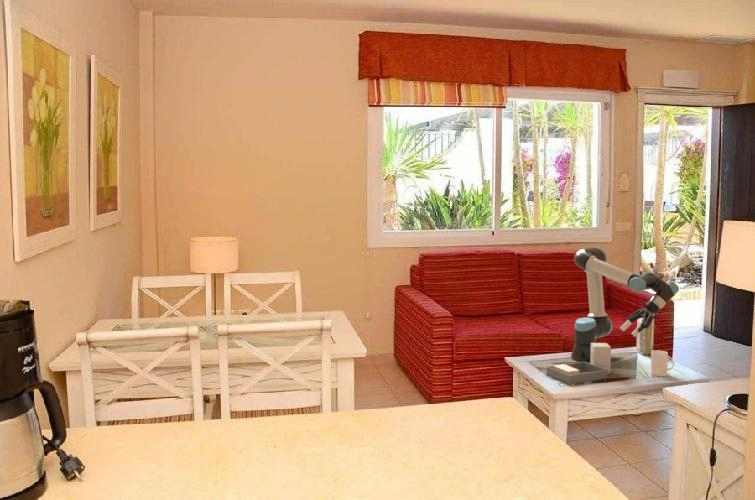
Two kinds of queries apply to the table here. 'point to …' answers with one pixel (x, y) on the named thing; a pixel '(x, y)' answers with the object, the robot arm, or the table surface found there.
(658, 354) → the mug
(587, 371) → the tray
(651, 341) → the juice carton
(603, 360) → the supplement box
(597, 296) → the robot arm
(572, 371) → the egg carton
